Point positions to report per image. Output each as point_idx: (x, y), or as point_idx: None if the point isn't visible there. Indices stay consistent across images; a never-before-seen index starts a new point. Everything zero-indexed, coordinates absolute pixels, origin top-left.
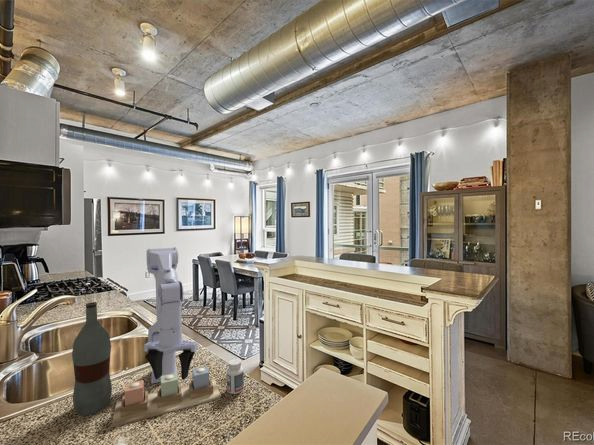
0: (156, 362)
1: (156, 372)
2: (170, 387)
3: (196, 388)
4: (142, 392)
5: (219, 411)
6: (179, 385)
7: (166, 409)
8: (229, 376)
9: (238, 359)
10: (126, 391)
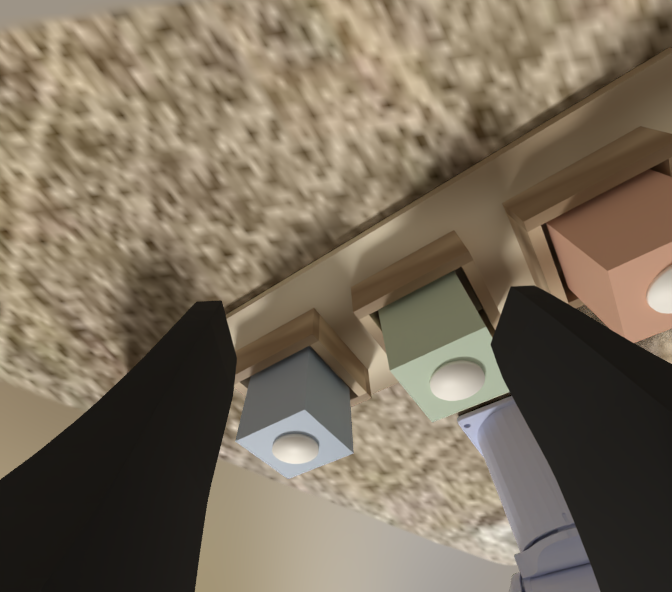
0: (656, 460)
1: (560, 331)
2: (421, 325)
3: (299, 356)
4: (589, 251)
5: (131, 256)
6: None
7: (400, 226)
8: None
9: None
10: None
